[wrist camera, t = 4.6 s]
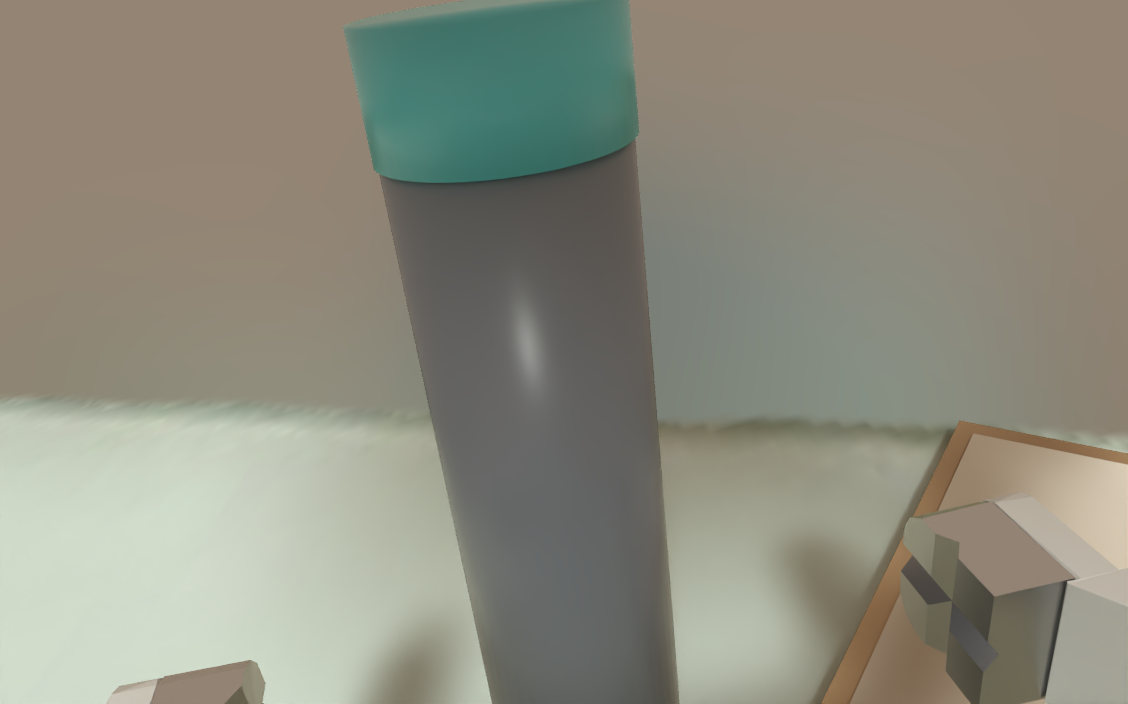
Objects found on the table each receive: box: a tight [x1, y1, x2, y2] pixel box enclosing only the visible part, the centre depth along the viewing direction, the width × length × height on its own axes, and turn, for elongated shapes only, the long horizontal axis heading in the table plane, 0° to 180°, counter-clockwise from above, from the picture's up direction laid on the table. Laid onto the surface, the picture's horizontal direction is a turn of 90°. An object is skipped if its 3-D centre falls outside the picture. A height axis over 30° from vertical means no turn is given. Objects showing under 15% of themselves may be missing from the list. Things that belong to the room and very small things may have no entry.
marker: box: [343, 0, 679, 704], centre depth 12 cm, size 3×3×14 cm
